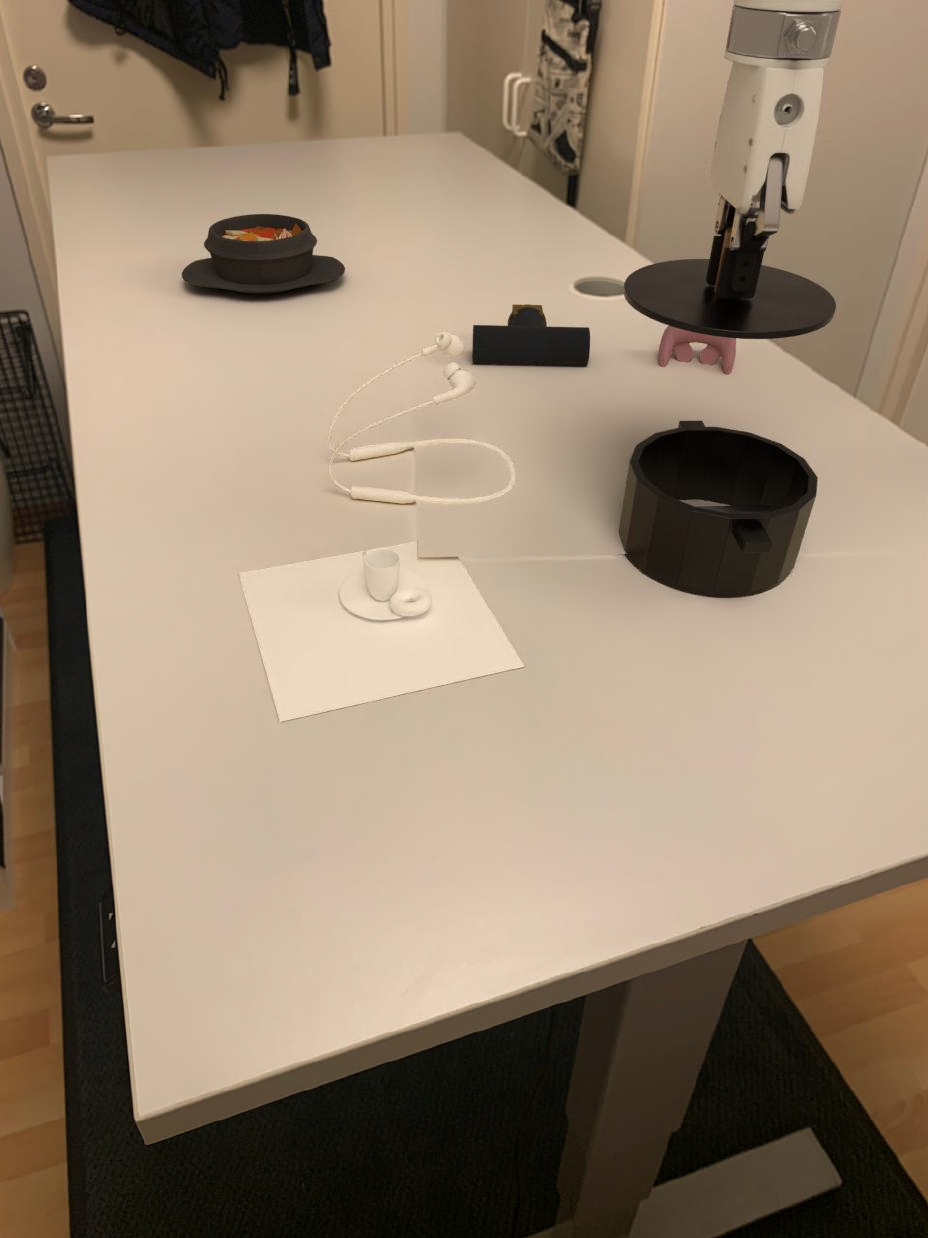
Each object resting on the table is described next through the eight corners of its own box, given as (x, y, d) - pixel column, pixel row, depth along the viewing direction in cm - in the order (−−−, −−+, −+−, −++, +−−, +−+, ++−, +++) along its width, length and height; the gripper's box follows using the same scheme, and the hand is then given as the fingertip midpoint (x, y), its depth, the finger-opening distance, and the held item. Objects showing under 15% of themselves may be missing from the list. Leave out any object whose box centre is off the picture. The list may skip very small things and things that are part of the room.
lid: (791, 271, 86) (808, 201, 82) (866, 346, 72) (890, 267, 68) (606, 271, 85) (614, 200, 81) (645, 347, 71) (657, 266, 67)
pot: (753, 486, 97) (772, 413, 92) (830, 614, 80) (859, 534, 75) (600, 488, 96) (610, 414, 91) (645, 618, 79) (661, 537, 74)
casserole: (343, 261, 151) (339, 207, 146) (349, 301, 137) (345, 243, 132) (188, 265, 148) (179, 211, 143) (178, 307, 134) (168, 248, 128)
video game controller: (729, 378, 122) (739, 324, 121) (732, 376, 118) (743, 320, 116) (655, 370, 124) (664, 316, 122) (655, 367, 119) (665, 312, 118)
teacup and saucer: (444, 619, 78) (444, 581, 76) (354, 637, 76) (351, 599, 74) (414, 563, 85) (413, 526, 82) (330, 578, 83) (327, 541, 80)
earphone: (312, 417, 99) (438, 308, 93) (412, 511, 108) (532, 418, 102) (312, 480, 88) (454, 362, 83) (422, 579, 98) (557, 479, 92)
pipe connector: (472, 298, 124) (582, 301, 124) (471, 336, 127) (578, 338, 128) (473, 333, 115) (591, 335, 116) (472, 372, 119) (586, 374, 119)
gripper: (875, 54, 60) (804, 326, 72) (793, 24, 73) (744, 260, 84) (764, 53, 60) (710, 326, 72) (701, 23, 72) (664, 260, 84)
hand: (729, 288), depth 78 cm, fingers closed on lid, 2 cm apart
